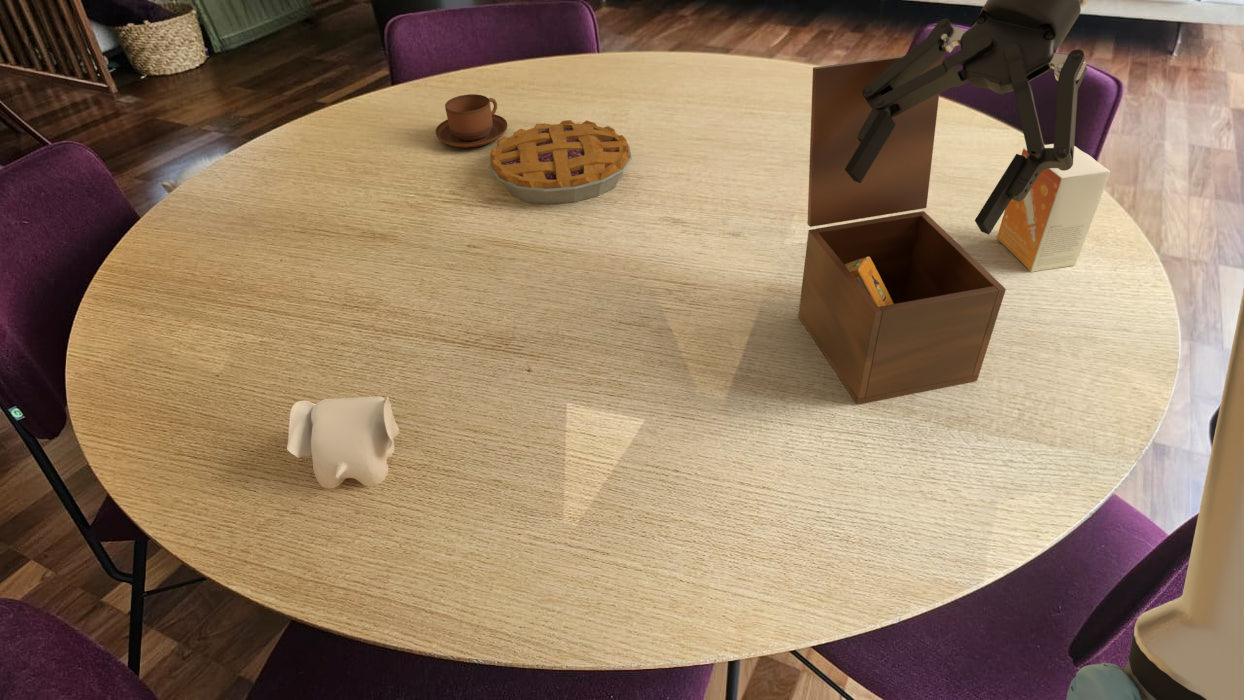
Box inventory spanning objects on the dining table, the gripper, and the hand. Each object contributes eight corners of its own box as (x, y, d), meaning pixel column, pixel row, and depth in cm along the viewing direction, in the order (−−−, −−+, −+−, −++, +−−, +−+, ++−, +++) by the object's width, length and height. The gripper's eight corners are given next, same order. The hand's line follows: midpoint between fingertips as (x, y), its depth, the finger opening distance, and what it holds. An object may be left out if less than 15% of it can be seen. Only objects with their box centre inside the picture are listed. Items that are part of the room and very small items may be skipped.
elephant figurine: (422, 419, 84) (404, 354, 78) (402, 511, 75) (379, 444, 69) (330, 424, 84) (305, 359, 78) (299, 516, 75) (268, 450, 69)
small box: (994, 239, 106) (1021, 146, 97) (1040, 233, 106) (1070, 140, 98) (1029, 273, 99) (1061, 177, 91) (1077, 266, 100) (1113, 170, 92)
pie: (483, 155, 132) (478, 126, 128) (613, 135, 135) (611, 106, 132) (501, 220, 115) (496, 188, 112) (649, 195, 119) (648, 164, 115)
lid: (944, 51, 80) (912, 42, 86) (816, 68, 79) (791, 58, 84) (926, 208, 89) (898, 191, 94) (810, 227, 87) (788, 208, 92)
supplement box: (880, 339, 90) (844, 262, 87) (909, 334, 87) (873, 254, 85) (870, 355, 88) (832, 276, 85) (899, 350, 85) (861, 268, 83)
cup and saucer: (459, 120, 143) (452, 86, 139) (520, 127, 139) (515, 92, 135) (424, 149, 134) (416, 113, 130) (488, 157, 131) (483, 121, 127)
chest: (977, 380, 85) (1006, 289, 77) (856, 404, 83) (874, 312, 75) (904, 297, 97) (923, 210, 89) (798, 316, 95) (808, 229, 87)
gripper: (1193, 46, 68) (1051, 267, 70) (929, -10, 83) (819, 173, 85) (1193, -6, 62) (1038, 236, 64) (908, -56, 77) (791, 141, 79)
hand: (913, 201), depth 74 cm, fingers open, 13 cm apart
